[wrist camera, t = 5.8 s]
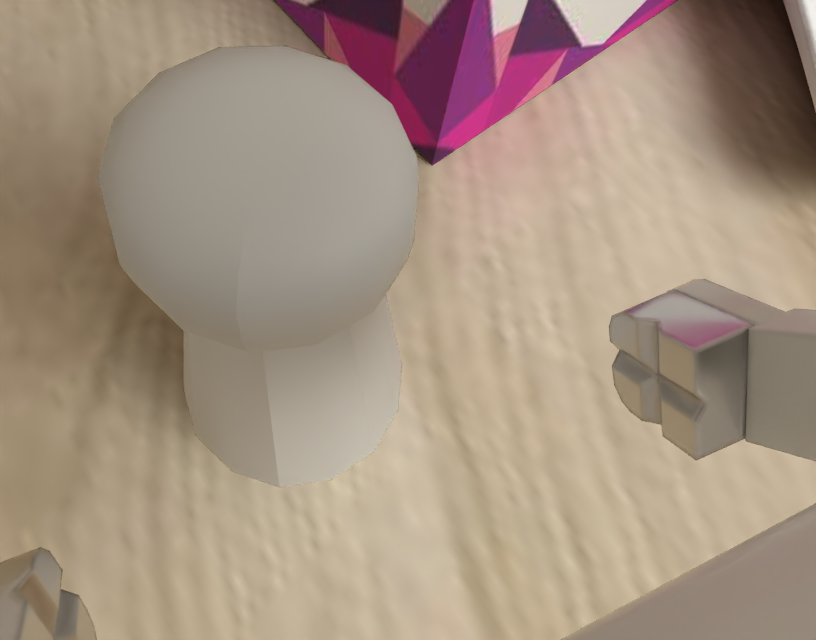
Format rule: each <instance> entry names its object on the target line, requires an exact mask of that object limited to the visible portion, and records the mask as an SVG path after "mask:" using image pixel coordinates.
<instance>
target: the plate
mask: <svg viewBox="0 0 816 640" xmlns="http://www.w3.org/2000/svg"><path fill="white" fill-rule="evenodd" d="M783 2H784V5H785V8H786V11H787V14H788V18H789V21H790V24H791V27H792V30H793V33H794V37H795V40H796V43H797V46H798V50H799V53H800V57H801V60H802V64H803V67H804V71H805V75H806V78H807V82H808V85H809V89H810V93H811V96H812V100H813V104H814V107H815V111H816V0H783Z"/></svg>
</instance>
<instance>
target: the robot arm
mask: <svg viewBox="0 0 816 640" xmlns="http://www.w3.org/2000/svg"><path fill="white" fill-rule="evenodd" d="M609 335H610V342H611V343H612V344H613V345H614V346H616V347H617V348H618V349H619V352H618V354H617V356H616V359H615V361H614V363H613V365H612V371H613V379H614V386H615V388H616V390H617V392H618V394H619V396H620V399H621V401H622V402H623V403H624V405H625V406H626V407H627V408H628V410H629V411H630V412H631V413H633V414H634V415H635V416H636V417H638V418H639V419H640V420H642V421H646V422H651V423H656V424H661V427H662V434H663V437H665V438H666V439H667V440H669V441H670V442H671V443H673V444H674V445H676V446H677V447H678V448H680V449H681V450H682V451H684V452H685V453H687V454H688V455H689V456H691V457H692V458H693V459H695V460H698V459H700V458H703V457H705V456H707V455H709V454H712V453H714V452H716V451H718V450H720V449H723V448H725V447H727V446H729V445H732V444H734V443H736V442H738V441H740V440H743V439H745V438H746V441H747V442H750V443H754V444H757V445H761V446H764V447H768V448H771V449H775V450H778V451H782V452H785V453H789V454H792V455H796V456H799V457H802V458H806V459H809V460H813V461H816V310H807V309H793V310H790V311H788V312H784V311H782V310H779V309H777V308H774V307H772V306H770V305H767V304H765V303H762V302H760V301H757V300H755V299H752V298H750V297H747V296H745V295H743V294H740V293H738V292H735V291H733V290H730V289H728V288H725V287H723V286H720V285H718V284H715V283H713V282H711V281H708V280H706V279H694V280H692V281H689V282H687V283H685V284H683V285H681V286H678V287H676V288H674V289H672V290H669V291H667V292H666V293H664V294H662V295H659V296H657V297H655V298H652V299H650V300H648V301H645V302H643V303H641V304H638V305H636V306H634V307H631V308H629V309H627V310H624V311H622V312H620V313H617V314H615V315H613V316H612V317H611V321H610V325H609ZM62 572H63V570H62V568H61V567H60V565H59V564H58V562H57V561H56V560H55V558H54V557H53V555H52V554H51V552H50V551H48V550H46V549H43V548H41V547H40V548H37V549H35V550H32V551H29V552H27V553H24V554H22V555H19V556H16V557H14V558H11V559H9V560H6V561H3V562H1V563H0V640H97V638H96V633H95V628H94V625H93V622H92V620H91V617H90V615H89V612H88V610H87V608H86V606H85V605H84V603H83V602H82V600H81V598H80V597H79V595H77V594H74V593H71V592H68V591H65V590H62V589H61V581H62ZM561 640H816V503H815V504H813V505H811V506H810V507H808V508H806V509H804V510H802V511H800V512H798V513H796V514H795V515H793V516H791V517H789V518H787V519H785V520H783V521H782V522H780V523H778V524H776V525H774V526H772V527H770V528H768V529H767V530H765V531H763V532H761V533H759V534H757V535H755V536H753V537H752V538H750V539H748V540H746V541H744V542H742V543H740V544H738V545H737V546H735V547H733V548H731V549H729V550H727V551H725V552H723V553H722V554H720V555H718V556H716V557H714V558H712V559H710V560H708V561H707V562H705V563H703V564H701V565H699V566H697V567H695V568H694V569H692V570H690V571H688V572H686V573H684V574H682V575H680V576H679V577H677V578H675V579H673V580H671V581H669V582H667V583H665V584H664V585H662V586H660V587H658V588H656V589H654V590H652V591H650V592H649V593H647V594H645V595H643V596H641V597H639V598H637V599H635V600H634V601H632V602H630V603H628V604H626V605H624V606H622V607H621V608H619V609H617V610H615V611H613V612H611V613H609V614H607V615H606V616H604V617H602V618H600V619H598V620H596V621H594V622H593V623H591V624H589V625H587V626H585V627H583V628H581V629H579V630H578V631H576V632H574V633H572V634H570V635H568V636H566V637H565V638H563V639H561Z"/></svg>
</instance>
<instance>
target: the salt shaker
mask: <svg viewBox="0 0 816 640" xmlns="http://www.w3.org/2000/svg"><path fill="white" fill-rule="evenodd" d="M98 180H99V184H100V189H101V193H102V197H103V201H104V205H105V209H106V213H107V217H108V220H109V224H110V228H111V232H112V236H113V240H114V244H115V247H116V251H117V255H118V259H119V263H120V266H121V268H122V269H123V270H124V271H125V272H126V273H127V275H128V276H129V277H130V278H131V279H132V281H133V282H134V283H135V284H136V285H137V286H138V287H139V288H140V289H141V290H142V291H143V292H144V293H145V294H146V295H147V296H148V297H149V298H150V299H151V300H152V301H153V302H154V303H155V304H156V305H158V306H159V307H160V308H161V309H162V310H163V311H164V312H165V313H166V314H167V315H168V316H169V317H170V318H171V319H172V320H173V321H174V322H175V323H176V324H177V325H178V326H179V327H180V328H181V329H182V330H184V393H185V396H186V400H187V404H188V408H189V411H190V415H191V419H192V422H193V426H194V430H195V434H196V436H197V437H198V438H199V439H200V440H201V441H202V442H203V443H204V444H205V445H206V446H207V447H208V448H209V449H210V450H211V451H212V452H213V453H214V454H215V455H216V456H217V457H218V458H219V459H220V460H221V461H222V462H223V463H224V464H225V465H226V466H227V467H228V468H229V469H230V470H231V471H233V472H236V473H239V474H242V475H245V476H247V477H250V478H253V479H256V480H259V481H262V482H265V483H268V484H271V485H274V486H277V487H286V486H293V485H300V484H307V483H314V482H322V481H329V480H332V479H334V478H335V477H337V476H338V475H340V474H341V473H343V472H344V471H346V470H347V469H349V468H350V467H352V466H353V465H355V464H356V463H358V462H359V461H361V460H363V459H364V458H366V457H367V456H369V455H370V454H372V453H373V452H374V451H375V449H376V447H377V446H378V444H379V442H380V441H381V439H382V437H383V435H384V434H385V432H386V430H387V429H388V427H389V425H390V424H391V422H392V420H393V419H394V417H395V415H396V414H397V412H398V407H399V395H400V383H401V372H402V362H401V357H400V353H399V349H398V344H397V340H396V335H395V331H394V326H393V322H392V318H391V313H390V309H389V304H388V300H387V295H386V293H387V291H388V289H389V288H390V286H391V285H392V283H393V282H394V280H395V279H396V277H397V275H398V274H399V272H400V271H401V269H402V268H403V266H404V264H405V263H406V261H407V259H408V256H409V253H410V250H411V247H412V245H413V242H414V233H415V222H416V211H417V200H418V189H419V175H418V163H417V156H416V154H415V152H414V149H413V147H412V145H411V143H410V141H409V139H408V137H407V135H406V132H405V130H404V128H403V126H402V124H401V122H400V120H399V118H398V115H397V113H396V111H395V109H394V107H393V105H392V104H391V103H390V102H389V101H388V100H387V99H385V98H384V97H383V96H382V95H381V94H380V93H378V92H377V91H376V90H375V89H374V88H373V87H371V86H370V85H369V84H368V83H367V82H366V81H364V80H363V79H362V78H361V77H360V76H359V75H357V74H356V73H355V72H354V71H353V70H352V69H350V68H349V67H348V66H347V65H345V64H342V63H339V62H336V61H332V60H329V59H326V58H323V57H320V56H317V55H313V54H310V53H307V52H304V51H301V50H298V49H294V48H291V47H288V46H247V47H218V48H216V49H214V50H211V51H209V52H207V53H204V54H202V55H200V56H197V57H195V58H193V59H190V60H188V61H186V62H183V63H181V64H178V65H176V66H174V67H171V68H169V69H167V70H164V71H162V72H160V73H158V74H157V75H156V76H155V77H154V78H153V79H152V80H151V81H150V82H149V83H148V84H147V85H146V86H145V87H144V88H143V89H142V90H141V91H140V92H139V93H138V94H137V95H136V96H135V97H134V98H133V99H132V100H131V101H130V102H129V103H128V104H127V105H126V106H125V107H124V108H123V109H122V110H121V111H120V112H119V113H118V114H117V115H116V116H115V117H114V120H113V123H112V127H111V131H110V134H109V138H108V142H107V145H106V149H105V153H104V156H103V160H102V164H101V167H100V171H99V174H98Z"/></svg>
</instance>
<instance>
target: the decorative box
mask: <svg viewBox="0 0 816 640" xmlns="http://www.w3.org/2000/svg"><path fill="white" fill-rule="evenodd" d="M275 1H276V2H277V3H278V4H279V5H280V6H281V7H282V8H283V9H284V11H285V12H286V13H287V14H288V15H289V16H290V17H291V18H292V19H293V20H294V21H295V22H296V23H297V24H298V25H299V26H300V27H301V28H302V29H303V31H304V32H305V33H306V34H307V35H308V36H309V37H310V38H311V39H312V40H313V41H314V42H315V43H316V44H317V45H318V46H319V47H320V48H321V50H322V51H323V52H324V53H325V54H326V55H327V56H328V57H329V58H330V59H331V60H332V61H336V62H339V63H342V64H345V65H347V66H348V67H349V68H350V69H352V70H353V71H354V72H355V73H356V74H357V75H359V76H360V77H361V78H362V79H363V80H364V81H366V82H367V83H368V84H369V85H370V86H371V87H373V88H374V89H375V90H376V91H377V92H378V93H380V94H381V95H382V96H383V97H384V98H385V99H387V100H388V101H389V102H390V103H391V104H392V105H393V107H394V109H395V111H396V113H397V115H398V118H399V120H400V122H401V124H402V126H403V128H404V130H405V132H406V135H407V137H408V139H409V141H410V143H411V144H412V145H413V146H414V148H415V149H416V150H417V151H418V152H419V153H420V154H421V155H422V156H423V157H424V158H425V159H426V160H427V161H428V162H429V163H430V164H431V165H434V164H435V163H437V162H438V161H440V160H441V159H443V158H444V157H446V156H447V155H449V154H450V153H452V152H453V151H455V150H456V149H458V148H459V147H461V146H462V145H464V144H465V143H467V142H468V141H470V140H471V139H472V138H474V137H475V136H477V135H478V134H480V133H481V132H483V131H484V130H486V129H487V128H489V127H490V126H492V125H493V124H495V123H496V122H498V121H499V120H501V119H502V118H504V117H505V116H507V115H508V114H510V113H511V112H513V111H514V110H516V109H517V108H519V107H520V106H522V105H523V104H524V103H526V102H527V101H529V100H530V99H532V98H533V97H535V96H536V95H538V94H539V93H541V92H542V91H544V90H545V89H547V88H548V87H550V86H551V85H553V84H554V83H556V82H557V81H559V80H560V79H562V78H563V77H565V76H566V75H568V74H569V73H571V72H572V71H573V70H575V69H576V68H578V67H579V66H581V65H582V64H584V63H585V62H587V61H588V60H590V59H591V58H593V57H594V56H596V55H597V54H599V53H600V52H602V51H603V50H605V49H606V48H608V47H609V46H611V45H612V44H614V43H615V42H617V41H618V40H620V39H621V38H622V37H624V36H625V35H627V34H628V33H630V32H631V31H633V30H634V29H636V28H637V27H639V26H640V25H642V24H643V23H645V22H646V21H648V20H649V19H651V18H652V17H654V16H655V15H657V14H658V13H660V12H661V11H663V10H664V9H666V8H667V7H669V6H670V5H672V4H673V3H674V2H676V1H677V0H275Z"/></svg>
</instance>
